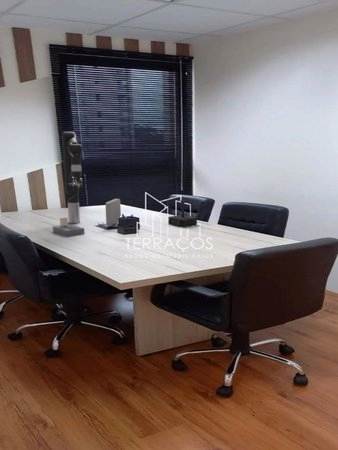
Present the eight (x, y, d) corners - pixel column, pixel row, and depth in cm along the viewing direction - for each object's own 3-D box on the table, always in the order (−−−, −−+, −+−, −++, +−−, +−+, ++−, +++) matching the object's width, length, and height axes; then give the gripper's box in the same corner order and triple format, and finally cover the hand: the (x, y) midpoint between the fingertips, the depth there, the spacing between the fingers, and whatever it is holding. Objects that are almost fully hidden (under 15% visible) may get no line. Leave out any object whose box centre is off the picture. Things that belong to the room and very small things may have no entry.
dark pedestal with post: (166, 224, 344) (166, 200, 340) (181, 222, 355) (181, 198, 351) (182, 228, 330) (182, 202, 326) (197, 225, 341) (197, 200, 337)
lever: (60, 226, 320) (59, 218, 319) (66, 225, 323) (65, 217, 322) (62, 226, 318) (61, 218, 316) (68, 225, 321) (67, 217, 320)
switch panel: (53, 231, 320) (52, 226, 319) (69, 229, 329) (69, 224, 328) (67, 236, 304) (67, 231, 303) (84, 233, 313) (84, 228, 312)
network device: (113, 228, 332) (112, 202, 328) (103, 227, 334) (102, 202, 330) (123, 222, 357) (122, 198, 353) (113, 221, 358) (112, 198, 354)
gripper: (85, 170, 321) (86, 191, 325) (76, 169, 332) (77, 190, 335) (76, 171, 316) (77, 192, 320) (67, 170, 327) (68, 191, 330)
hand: (77, 191), depth 328 cm, fingers open, 8 cm apart
